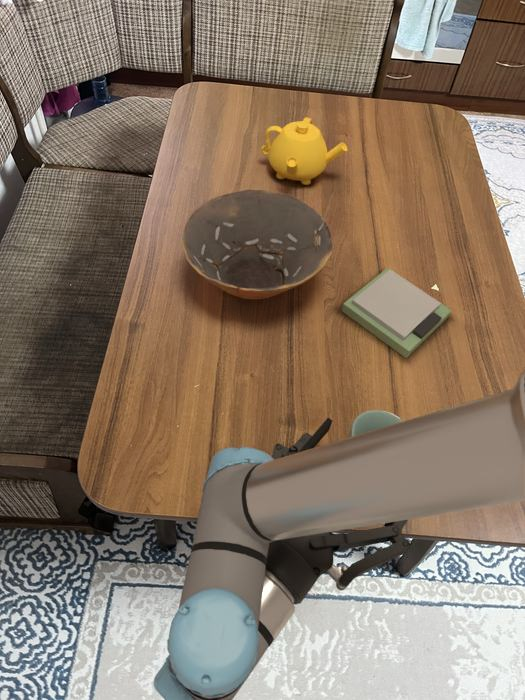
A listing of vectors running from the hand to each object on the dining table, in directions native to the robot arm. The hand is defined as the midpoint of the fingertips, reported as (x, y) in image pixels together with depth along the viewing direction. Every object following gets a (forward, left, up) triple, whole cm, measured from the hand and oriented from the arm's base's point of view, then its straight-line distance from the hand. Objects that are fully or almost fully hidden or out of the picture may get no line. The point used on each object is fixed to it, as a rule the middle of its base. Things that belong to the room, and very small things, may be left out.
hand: (370, 453), depth 71 cm
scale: (+14, -28, -6) cm, 32 cm away
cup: (0, -1, -6) cm, 6 cm away
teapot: (+52, -45, -6) cm, 69 cm away
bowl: (+37, -16, -6) cm, 41 cm away
